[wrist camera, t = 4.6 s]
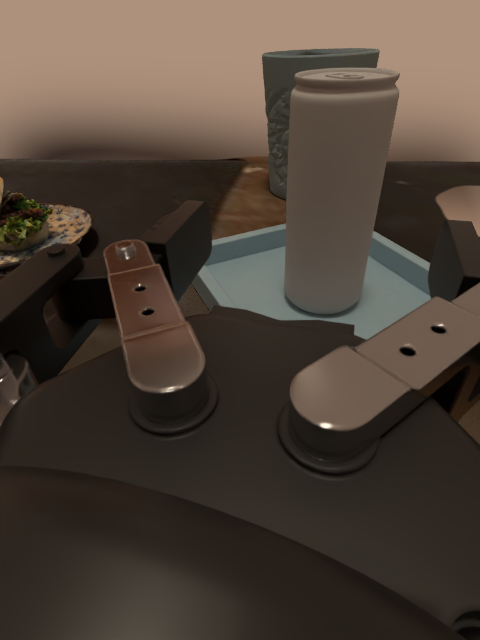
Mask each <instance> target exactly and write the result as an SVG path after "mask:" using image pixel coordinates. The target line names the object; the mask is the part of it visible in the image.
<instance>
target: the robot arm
mask: <svg viewBox="0 0 480 640" xmlns="http://www.w3.org/2000/svg"><path fill="white" fill-rule="evenodd" d="M211 250H212V235H211V224H210V213H209V206H208V204H207V202H202V201H189V200H187V201H185V202H184V203H183V204H182V205H181V206H180V207H179V208H178V209H177V210H176V211H175V212H172V213H170V214H168V215H166V216H164V217H162V218H161V219H160V220H158V221H157V222H156V223H155V225H153V226H152V227H151V228H150V230H148V231H147V232H145V233H144V234H143V235H142V236H141V237H140V238H139V239H138V240H123V241H119V242H116V243H113V244H111V245H109V246H108V247H106V248H105V250H104V252H103V254H104V257H92V258H82V255H81V252H80V249H79V247H78V246H77V245H74V244H69V243H63V244H56V245H52V246H48V247H46V248H43V249H42V250H40V251H38V252H37V253H36V254H34V255H33V256H32V257H30V258H29V259H28V260H26V261H25V262H24V263H22V264H21V265H20V266H19V267H17V268H16V269H15V270H13V271H12V272H11V273H9V274H8V275H7V276H5V277H4V278H3V279H1V280H0V640H480V445H479V444H478V443H477V442H476V441H475V440H474V439H473V438H472V437H471V436H470V435H469V434H468V433H467V432H466V431H465V430H464V429H463V428H462V427H461V426H460V425H459V424H458V423H457V422H458V421H459V420H460V419H461V417H462V416H463V415H464V414H465V413H466V412H467V411H468V410H469V409H470V408H472V407H473V406H474V405H475V404H476V403H477V402H478V401H479V400H480V238H478V235H477V233H476V231H475V228H474V226H473V224H472V222H470V221H457V220H445V221H444V222H443V224H442V227H441V230H440V233H439V237H438V240H437V243H436V246H435V250H434V253H433V256H432V260H431V263H430V267H429V272H428V286H429V292H430V297H431V299H430V300H429V301H427V302H426V303H424V304H422V305H421V306H419V307H418V308H416V309H414V310H413V311H411V312H410V313H408V314H407V315H405V316H403V317H402V318H400V319H399V320H397V321H396V322H394V323H392V324H391V325H389V326H388V327H386V328H384V329H383V330H381V331H380V332H378V333H377V334H375V335H373V336H372V337H370V338H369V339H367V340H366V339H364V338H361V337H359V336H356V335H354V328H355V325H352V324H345V323H338V322H331V321H324V320H277V319H274V318H271V317H268V316H265V315H261V314H258V313H255V312H252V311H249V310H245V309H238V308H231V307H224V306H217V305H214V307H213V308H212V310H211V312H210V314H199V315H193V316H189V317H185V318H184V316H183V314H182V312H181V310H180V307H179V305H178V303H177V302H178V301H179V300H180V298H181V297H182V295H183V294H184V293H185V291H186V290H187V288H188V287H189V285H190V284H191V283H192V281H193V280H194V278H195V277H196V276H197V274H198V273H199V271H200V270H201V269H202V267H203V266H204V264H205V263H206V261H207V260H208V259H209V257H210V255H211ZM50 298H51V299H52V301H53V304H54V306H55V309H56V311H57V312H56V313H55V314H54V315H53V316H52V317H51V318H50V319H49V320H48V321H47V322H46V323H45V320H44V318H43V307H44V305H45V303H46V302H47V301H48V300H49V299H50ZM107 318H116V319H117V323H118V328H119V332H120V337H121V338H120V341H121V346H120V347H118V348H116V349H114V350H112V351H109V352H107V353H105V354H103V355H101V356H99V357H96V358H94V359H92V360H90V361H88V362H86V363H83V364H81V365H79V366H77V367H75V368H73V369H70V370H68V371H66V372H64V373H62V374H60V375H58V374H59V372H60V371H61V370H62V369H63V367H64V366H65V365H66V364H67V363H68V361H69V360H70V359H71V358H72V356H73V355H74V354H75V353H76V351H77V350H78V349H79V348H80V347H81V345H82V344H83V343H84V342H85V340H86V339H87V338H88V337H89V335H90V334H91V333H92V332H93V330H94V329H95V328H96V327H97V326H98V324H99V323H100V322H101V319H107ZM57 375H58V376H57Z"/></svg>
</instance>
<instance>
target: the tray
mask: <svg viewBox="0 0 480 640" xmlns="http://www.w3.org/2000/svg"><path fill="white" fill-rule="evenodd" d="M285 250H286V224H282V225H277V226H273V227H269V228H264V229H260V230H256V231H251V232H247V233H242V234H238V235H234V236H229V237H225V238H221V239H216V240H212V250H211V255H210V257H209V259H208V260H207V261H206V263H205V264H204V266H203V267H202V269H201V270H200V271H199V273H198V274H197V276H196V277H195V278H194V280H193V281H192V285H193V286H194V288H195V289H196V291H197V292H198V294H199V295H200V297H201V298H202V300H203V301H204V303H205V304H206V306H207V307H208V309H209V310H210V312H211V310H212V308H213V307H214V305H217V306H224V307H231V308H238V309H245V310H249V311H252V312H255V313H258V314H261V315H265V316H268V317H271V318H274V319H277V320H324V321H331V322H338V323H345V324H352V325H355V328H354V335H356V336H359V337H361V338H364V339H366V340H367V339H369V338H370V337H372V336H373V335H375V334H377V333H378V332H380V331H381V330H383V329H384V328H386V327H388V326H389V325H391V324H392V323H394V322H396V321H397V320H399V319H400V318H402V317H403V316H405V315H407V314H408V313H410V312H411V311H413V310H414V309H416V308H418V307H419V306H421V305H422V304H424V303H426V302H427V301H429V300H430V299H431V297H430V292H429V286H428V272H429V267H430V263H428V262H427V261H425V260H423V259H421V258H420V257H418V256H416V255H414V254H413V253H411V252H409V251H408V250H406V249H404V248H402V247H401V246H399V245H397V244H395V243H394V242H392V241H390V240H388V239H387V238H385V237H383V236H382V235H380V234H378V233H376V232H375V231H373V234H372V240H371V245H370V250H369V255H368V261H367V266H366V271H365V276H364V282H363V287H362V292H361V295H360V298H359V300H358V301H357V302H356V303H354V304H353V305H352V306H351V307H349V308H348V309H346V310H344V311H342V312H339V313H334V314H314V313H310V312H306V311H304V310H302V309H300V308H298V307H297V306H295V305H294V304H293V303H292V302H291V301H290V300H289V298H288V297H287V295H286V294H285V289H284V279H285Z"/></svg>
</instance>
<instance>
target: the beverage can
mask: <svg viewBox="0 0 480 640" xmlns="http://www.w3.org/2000/svg"><path fill="white" fill-rule="evenodd" d="M399 75H400V73H399V72H397V71H394V70H388V69H378V68H328V69H316V70H307V71H302V72H299V73H296V74H295V76H294V80H295V81H296V83H297V85H296V86H295V87H294V89H293V90H292V92H291V98H290V122H289V147H288V172H287V200H286V250H285V279H284V289H285V294H286V295H287V297H288V298H289V300H290V301H291V302H292V303H293V304H294V305H295V306H297V307H298V308H300V309H302V310H304V311H306V312H310V313H314V314H334V313H339V312H342V311H344V310H346V309H348V308H349V307H351V306H352V305H353V304H354V303H356V302H357V301H358V300H359V298H360V295H361V292H362V287H363V282H364V276H365V271H366V266H367V261H368V255H369V250H370V245H371V240H372V234H373V229H374V224H375V219H376V213H377V208H378V203H379V198H380V192H381V187H382V182H383V177H384V171H385V166H386V161H387V155H388V151H389V145H390V140H391V134H392V129H393V124H394V119H395V113H396V109H397V103H398V98H399V90H398V88H397V87H396V85H395V82H396V81H397V80H398V78H399Z"/></svg>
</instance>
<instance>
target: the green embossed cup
mask: <svg viewBox="0 0 480 640" xmlns="http://www.w3.org/2000/svg"><path fill="white" fill-rule="evenodd" d="M378 57H379V49H360V48H357V49H356V48H353V49H352V48H351V49H350V48H348V49H311V50H290V51H278V52H268V53H264V54H263V55H262V62H263V76H264V86H265V101H266V108H265V109H266V115H267V118H268V144H269V151H270V154H269V159H268V165H269V181H270V191H271V192H272V193H273V194H274V195H276V196H278V197H280V198H283V199H285V200H287V172H288V147H289V122H290V98H291V92H292V90H293V89H294V87H295V86H296V85H297V83H296V81H295V80H294V76H295V74H296V73H299V72H302V71H307V70H316V69H328V68H376V67H377V62H378Z"/></svg>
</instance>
